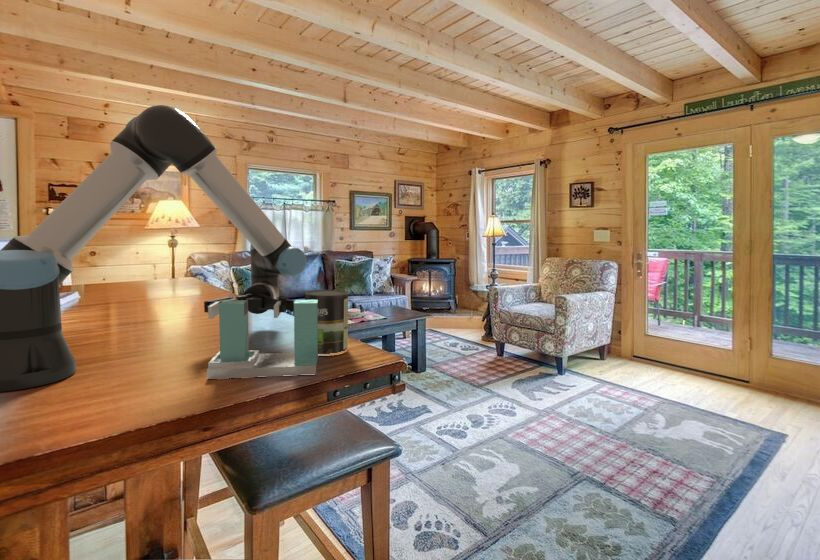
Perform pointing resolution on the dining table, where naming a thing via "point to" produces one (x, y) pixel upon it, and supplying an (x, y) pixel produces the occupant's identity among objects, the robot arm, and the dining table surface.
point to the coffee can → (331, 319)
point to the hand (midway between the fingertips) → (243, 312)
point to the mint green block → (234, 330)
